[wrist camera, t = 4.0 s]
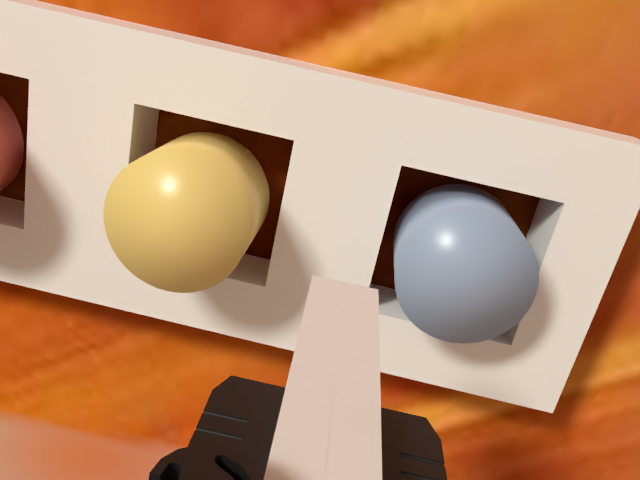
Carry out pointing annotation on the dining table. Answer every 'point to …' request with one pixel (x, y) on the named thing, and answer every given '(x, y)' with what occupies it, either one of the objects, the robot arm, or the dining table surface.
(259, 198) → the mustard button
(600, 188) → the panel
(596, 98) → the dining table surface
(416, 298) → the blue button
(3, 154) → the red button
